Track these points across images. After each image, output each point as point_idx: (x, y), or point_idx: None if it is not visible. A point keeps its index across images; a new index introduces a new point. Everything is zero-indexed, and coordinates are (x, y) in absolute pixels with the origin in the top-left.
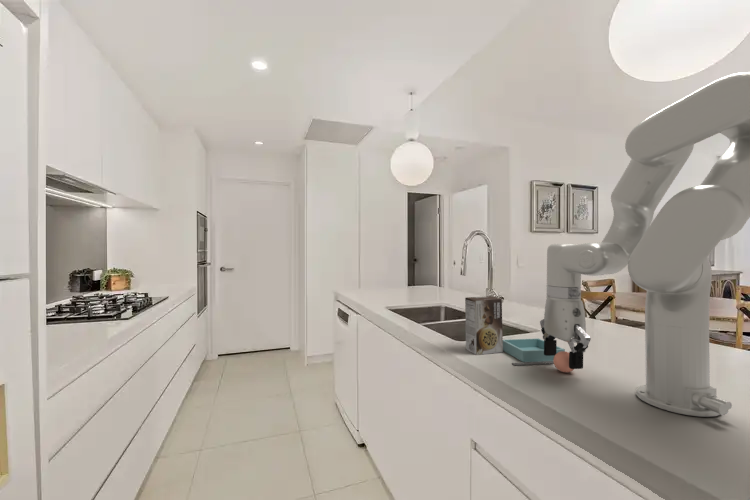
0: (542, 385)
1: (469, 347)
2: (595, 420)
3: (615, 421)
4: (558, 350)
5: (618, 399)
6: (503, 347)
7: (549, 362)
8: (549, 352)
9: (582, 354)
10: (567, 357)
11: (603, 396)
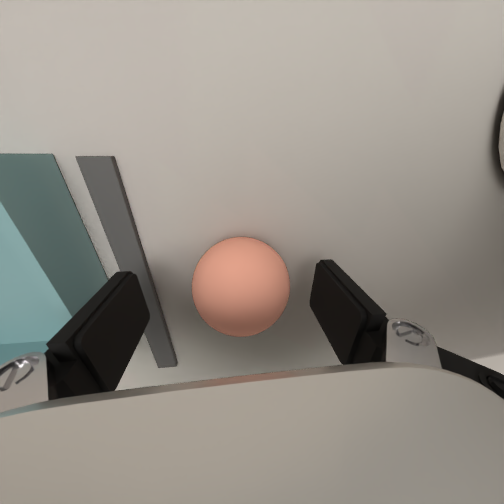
0: (320, 354)
1: None
2: (472, 343)
3: (499, 320)
4: (13, 210)
5: (466, 249)
6: None
7: (133, 265)
8: (139, 314)
9: (370, 304)
10: (281, 313)
11: (432, 272)
